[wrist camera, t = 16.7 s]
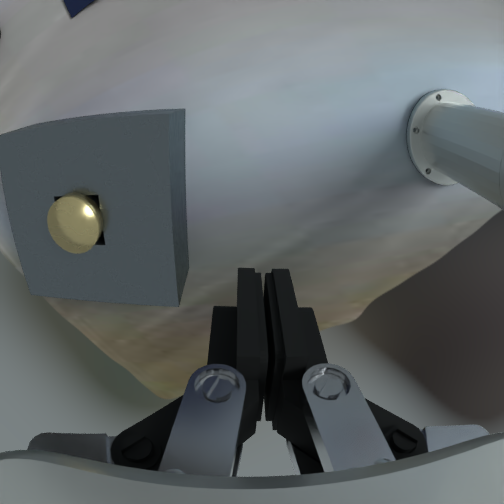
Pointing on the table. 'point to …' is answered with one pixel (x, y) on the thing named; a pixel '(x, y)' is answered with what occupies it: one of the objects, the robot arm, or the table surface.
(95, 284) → the grey square platform
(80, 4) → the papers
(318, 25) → the table surface
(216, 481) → the robot arm
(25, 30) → the table surface
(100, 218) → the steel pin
